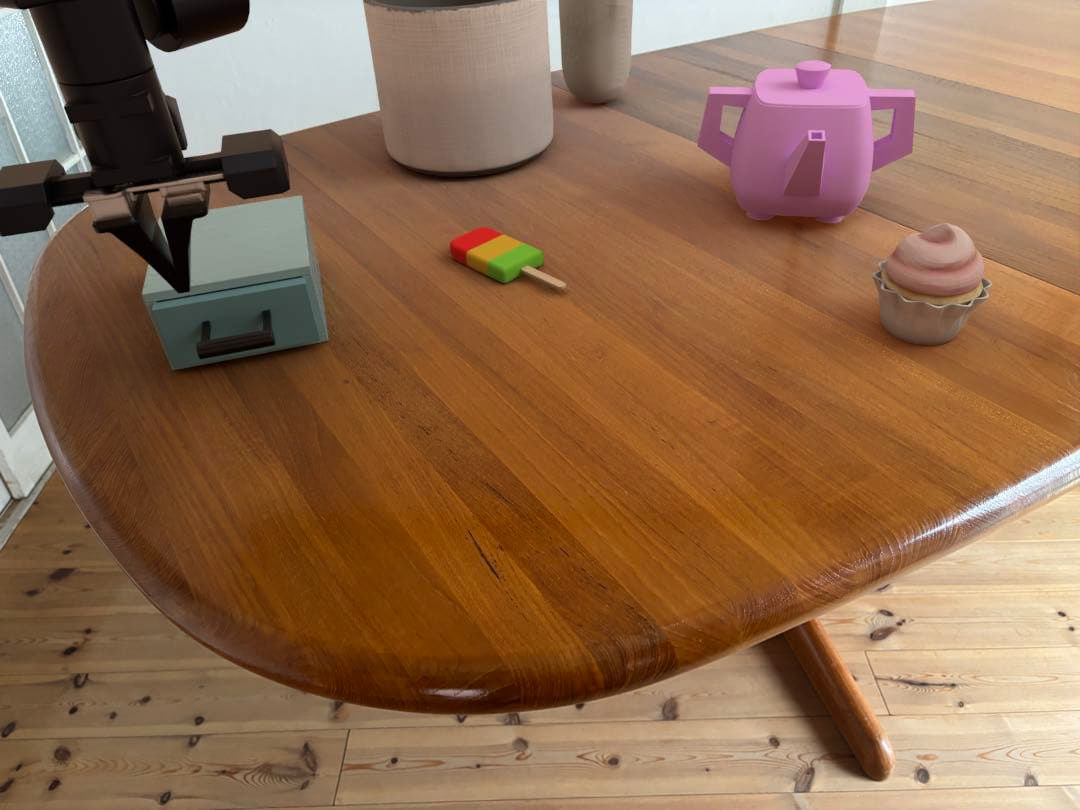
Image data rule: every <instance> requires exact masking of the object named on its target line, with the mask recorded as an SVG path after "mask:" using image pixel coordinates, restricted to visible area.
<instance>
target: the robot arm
mask: <svg viewBox="0 0 1080 810" xmlns="http://www.w3.org/2000/svg"><path fill="white" fill-rule="evenodd" d="M250 1H251V0H0V8H3V9H4V8H5V9H13V10H20V11H25V10H28V12H29V14H30V17H31V19H32V22H33V25H34V27H35V29H36V32H37V34H38V37H39V39H40V41H41V42H40V43H41V45H42V47H43V50H44V51H45V54H46V57H47V59H48V62H49V64H50V67H51V69H52V71H53V75H54V76H55V79H56V82H57V84H58V88H59V90H60V92H61V95H62V97H63V100H64V102H65V104H64V106H63V109H64V112H65V114H66V117H67V119H68V122H69V124H70V125H72V127H73V131H74V134H75V136H76V137H77V139H78V140H79V142H80V143H81V145H82V148H83V150H84V152H85V155H86V158H87V161H88V163H89V165H90V167H91V170H88V171H82V172H81V171H80V172H76V173H75V172H74V173H69V174H68V173H67V172H66V170H65V167H64V166H63V165H62V163H60V162H59V161H58V159H56V158H54V159H46V160H40V161H39V160H37V161H32V162H25V163H18V164H12V165H11V164H10V165H3V166H1V168H0V237H1V238H4V237H11V236H17V235H23V234H31V233H37V232H44V231H46V230H47V228H48V227H49V225H50V223H51V222H52V220H53V218H54V217H55V215H56V213H55V211H54V208H58V207H65V206H73V205H77V204H79V205H80V204H84V203H85V204H86V203H87V205H88V208H89V210H90V213H91V215H92V217H93V222H92V225H91V227H92V230H93V231H94V233H96V234H111V235H112V236H114V237H115V238H116V239H118V241H120V242H121V243H122V244H124V245H125V246H127V247H128V248H129V249H130V250H131V251H133V252H134V253H136V254H137V256H139V257H140V258H141V259H143V260H144V261H145V262H146V263H147V264H149V265H150V266H151V267H152V268H153V269H154V270H155V271H156V272H157V273H158V274H159V275H160V276H161V277H162V278H163V279H164V280H165V281H166V282H167V283H168V284H169V285H170V286H171V287H172V288H173V289H174V290H175V291H176V292H177V293H179V294H180V293H184V292H185V293H186V292H190V286H191V230H192V224H193V220H194V219H197V218H202V217H205V216H206V215H207V214H208V210H210V201H211V200H210V199H211V191H212V190H211V184H217V183H218V184H219V183H224V182H225V183H226V187H227V190H228V191H229V192H230V193H232V194H234V195H235V196H237V197H238V198H240V199H241V200H250V199H257V198H263V197H264V198H265V197H270V196H275V195H276V196H277V195H282V194H284V193H287V192H288V191H289V190H291V183H290V181H291V180H290V171H289V162H288V158H287V155H286V150H285V146H284V142H283V139H282V136H281V135H280V134H278V133H277V132H276V131H274V129H272V128H267V129H261V130H254V131H248V132H246V131H245V132H239V133H232V134H224V135H222V136H221V145H220V147H221V148H220V152H214V153H207V154H200V155H193V156H186V157H185V156H184V153H183V151H187V150H188V144H189V143H188V139H187V135H186V131H185V128H184V124H183V119H182V116H181V111H180V108H179V104H178V101H177V98H176V97H173V96H171V95H169V94H166V93H165V92H164V90H163V87H162V84H161V81H160V78H159V76H158V73H157V69H156V66H155V64H154V61H153V58H152V55H151V51H150V48H149V45H148V43H149V44H150V45H151V46H153V48H155V49H157V50H159V51H162V52H164V53H173V52H177V51H180V50H183V49H187V48H190V47H193V46H196V45H200V44H202V43H205V42H209V41H211V40H215V39H219V38H221V37H224V36H227V35H231V34H234V33H238V32H240V31H241V30H242V29H244V28H245V26H246V24H247V23H248V21H249V17H250V13H251V2H250ZM158 192H159V193H160V195H161V198H164V200H163V205H162V209H161V210H162V211H161V214H160V217H161V220H162V224H163V228H164V231H165V235H166V239H167V241H166V239H165V237H164V235H163V233H162V231H161V229H160V226H159V224H158V220H157V218H156V216H155V213H154V209H153V206H152V203H151V200H150V196H149V194H152V193H158ZM167 242H168V243H167Z"/></svg>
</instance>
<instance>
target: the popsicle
mask: <svg viewBox="0 0 1080 810" xmlns="http://www.w3.org/2000/svg"><path fill="white" fill-rule="evenodd" d="M449 251H450V256H451V257H452V259H453V260H455V261H457V262H459V263H461V264H463V265H465V266H467V267H468V268H470V269H473V270H475V271H477V272H479V273H481V274H483V275H485V276H487V277H489V278H490V279H493V280H495V281H497V282H499V283H501V284H507V283H510V282H511V281H513V280H515V279H517V278H520V277H521V276H523V275H527V276H530V277H532V278H535V279H536V280H539V281H540V282H542V283H545V284H547V285H549V286H551V287H553V288H555V289H557V290H565V289H566V288H567V283H566V282H565V281H562V280H560V279H558V278H555V277H553V276H551V275H549V274H547V273H545V272H542V271H540V270H538V269H537V268H539V267H541V266H543V265H544V262H545V259H544V258H545V257H544V252H543V251H542V250H541V249H538V248H536V247H534V246H532V245H529V244H526V243H524V242H522V241H519V240H517V239H516V238H513V237H510V236H508V235H506V234H504V233H502V232H499V231H497V230H495V229H492V228H490V227H485V226H484V227H483V226H482V227H478V228H475V229H472V230H470V231H468V232H466V233H464V234H461V235H459V236H458V237H455V238H454V239H452V240H451V241H450V243H449Z"/></svg>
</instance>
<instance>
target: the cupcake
mask: <svg viewBox="0 0 1080 810" xmlns="http://www.w3.org/2000/svg"><path fill="white" fill-rule="evenodd" d="M877 266H878V270H876V271H874V272H872V274H871V277H872V279H873V282H874V285H875V287H876V289H877V293H878V299H879V312H880V323H881V324H882V328H883V329H884V330H885V331H886V332H888V334H890V336H892V337H894V338H896V339H899V340H901V341H904V342H907V343H909V344H914V345H922V346H936V345H943V344H947V343H949V342H951V341H952V340H953V339H955V338H956V337H957V336H958V334H959V333H960V331H961V330H962V329H963V327H964V325H965V323H966V322H967V321H968V319H969V318H970V316H971V315H972V313H973V312H975V310H976V309H978V308H979V307H980V306H981V305H982V304H983V303H984V302H985V301H986V300H988V299H989V298H990V293H989V292H988V290H989V289H990V287H992V285H993V282H992V281H991V280H990V279H988V278H985V277H984V275H985V263H984V259H983V256H982V254H981V253H980V251H979V250H978V249H977V248H976V247H975V243H974V242H973V239H972V238H971V237H970V236H969V235H968V233H967V232H966V231H964V229H962V228H960V227H959V226H957V225H954V224H951V223H949V222H943V223H939V224H934V225H932V226H930V227H928V228H927V229H925V230H924V231H923V232H913V233H909V234H907V235H905V236H904V237H903V238H902V239H901V240H900V241H899V242H898V243H897V245H896V247H895V249H894V251H893V252H891V254H889V256H888V257H887V258H886V260H882V261H880V262H878V264H877Z"/></svg>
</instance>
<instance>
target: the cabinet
mask: <svg viewBox="0 0 1080 810" xmlns="http://www.w3.org/2000/svg"><path fill="white" fill-rule="evenodd" d="M157 222H158V224H159V226H160V229H161V231H162V233H163V235H164V237H165V239H166V235H165V231H164V228H163V224H162V220H161V216H160V217H158V220H157ZM166 241H167V239H166ZM167 243H168V242H167ZM147 264H148V263H147ZM320 271H321V270H320V264H319V259H318V255H317V251H316V247H315V243H314V239H313V235H312V231H311V227H310V223H309V219H308V215H307V211H306V207H305V203H304V199H303V196H302V195H294V196H288V197H281V198H273V199H269V200H263V201H256V202H249V203H243V204H236V205H230V206H224V207H218V208H209V210H208V214H207V215H206V216H205V217H202V218H197V219H194V220H193V224H192V230H191V286H190V292H186V293H185V292H184V293H180V294H179V293H177V292H176V291H175V290H174V289H173V288H172V287H171V286H170V285H169V284H168V283H167V282H166V281H165V280H164V279H163V278H162V277H161V276H160V275H159V274H158V273H157V272H156V271H155V270H154V269H153V268H152V267H151V266H150V265H149V264H148V265H147V268H146V273H145V278H144V282H143V285H142V290H141V291H142V292H141V297H142V299H143V302H144V304H145V308H146V310H147V312H148V314H149V316H150V319H151V322H152V324H153V326H154V329H155V331H156V334H157V337H158V339H159V342H160V343H161V346H162V349H163V351H164V354H165V357H166V359H167V361H168V363H169V366H170V369H171V371H177V370H183V369H188V368H194V367H200V366H205V365H208V364H214V363H219V362H224V361H225V362H226V361H229V360H231V361H232V360H235V359H240V358H246V357H252V356H257V355H262V354H266V353H272V352H277V351H282V350H287V349H293V348H298V347H303V346H309V345H315V344H319V343H320V344H321V343H325V342H329V339H330V338H329V332H328V324H327V316H326V309H325V308H326V307H325V302H324V301H325V300H324V295H323V287H322V278H321V272H320ZM299 276H302V277H305V278H306V281H307V285H308V289H309V293H310V297H311V301H312V305H313V308H314V312H315V316H316V320H317V324H318V328H319V332H320V338H321V340H320V341H315V342H309V343H304V344H299V345H293V346H288V347H283V348H278V349H272V350H267V351H262V352H256V353H251V354H246V355H241V356H235V357H230V358H225V359H219V360H214V361H209V362H204V363H198V364H193V365H188V366H182V367H177V368H175V367H174V365H173V362H172V360H171V357H170V355H169V352H168V350H167V347H166V345H165V342H164V340H163V337H162V335H161V332H160V330H159V327H158V325H157V322H156V320H155V317H154V315H153V312H152V306H153V303H158V302H164V301H167V299H173V298H179V297H184V296H190V295H196V294H202V293H207V292H213V291H219V290H224V289H230V288H236V287H242V286H247V285H253V284H259V283H265V282H270V281H276V280H282V279H288V278H293V277H299Z"/></svg>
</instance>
